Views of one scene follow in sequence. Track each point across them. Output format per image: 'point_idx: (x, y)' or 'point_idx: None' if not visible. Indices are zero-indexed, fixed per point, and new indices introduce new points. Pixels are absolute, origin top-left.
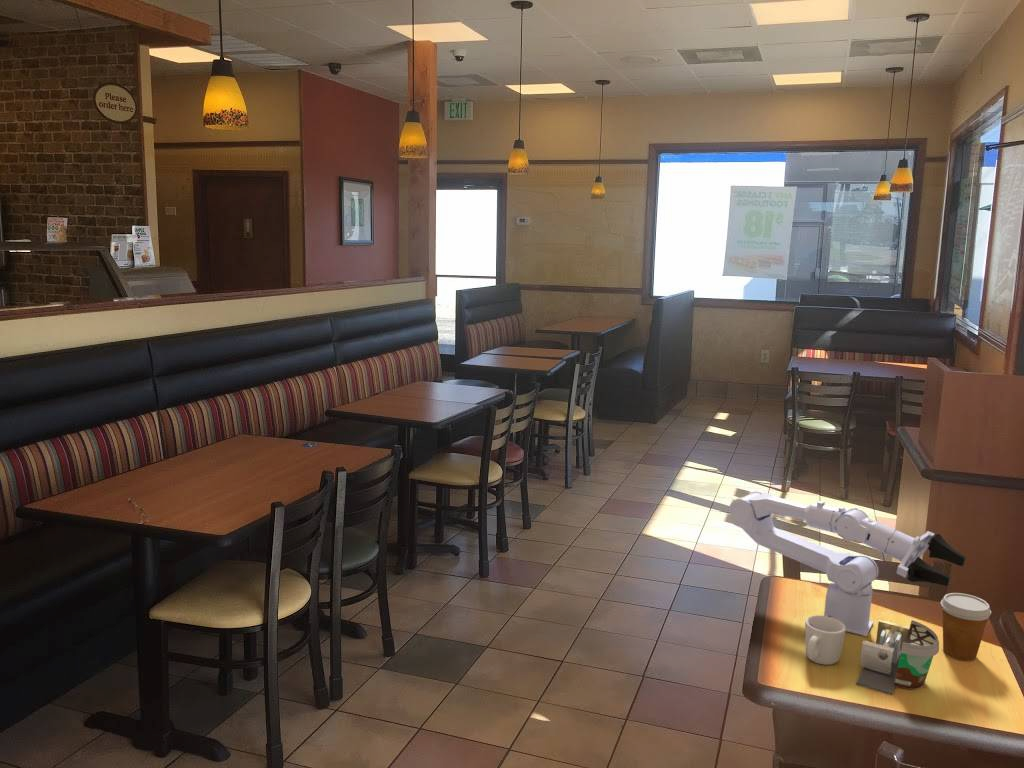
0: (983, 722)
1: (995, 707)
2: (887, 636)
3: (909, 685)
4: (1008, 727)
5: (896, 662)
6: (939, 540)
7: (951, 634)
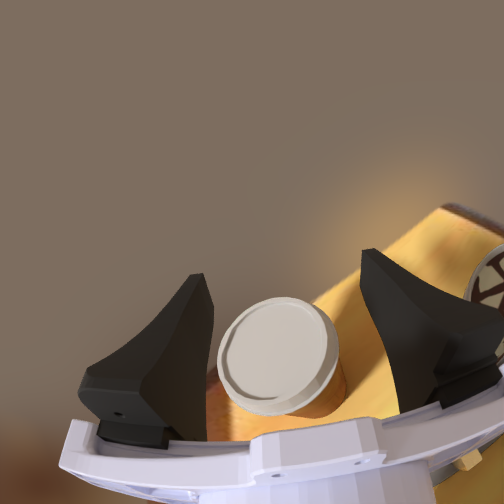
0: (462, 227)
1: (419, 249)
2: None
3: None
4: (439, 215)
5: None
6: (139, 360)
7: (341, 373)
